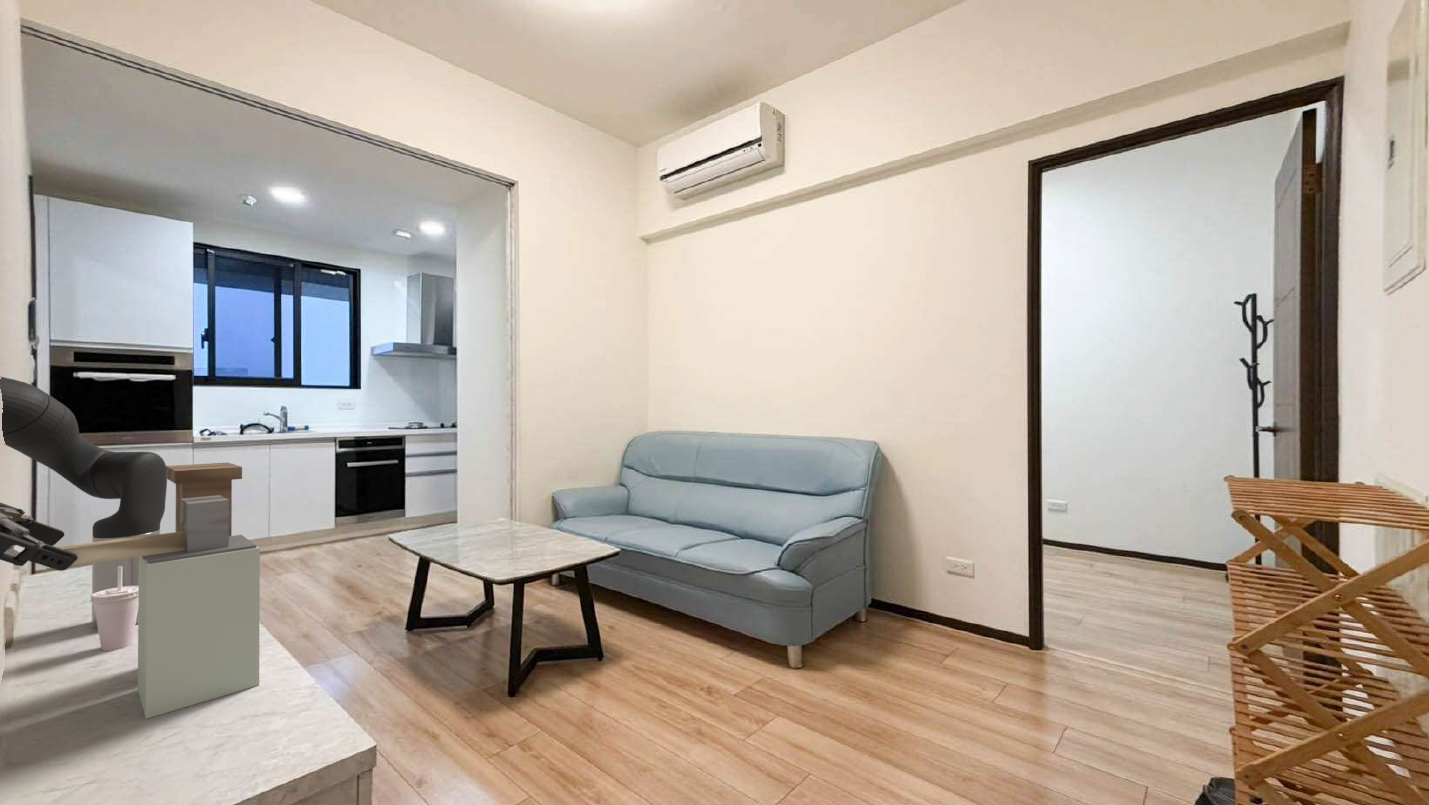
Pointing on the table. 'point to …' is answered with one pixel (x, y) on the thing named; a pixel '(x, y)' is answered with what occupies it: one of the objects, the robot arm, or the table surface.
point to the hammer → (167, 535)
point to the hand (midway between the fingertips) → (64, 551)
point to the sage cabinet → (198, 625)
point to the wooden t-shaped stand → (203, 483)
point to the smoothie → (116, 614)
